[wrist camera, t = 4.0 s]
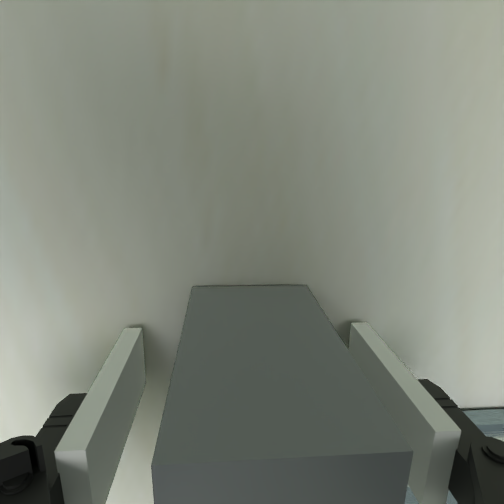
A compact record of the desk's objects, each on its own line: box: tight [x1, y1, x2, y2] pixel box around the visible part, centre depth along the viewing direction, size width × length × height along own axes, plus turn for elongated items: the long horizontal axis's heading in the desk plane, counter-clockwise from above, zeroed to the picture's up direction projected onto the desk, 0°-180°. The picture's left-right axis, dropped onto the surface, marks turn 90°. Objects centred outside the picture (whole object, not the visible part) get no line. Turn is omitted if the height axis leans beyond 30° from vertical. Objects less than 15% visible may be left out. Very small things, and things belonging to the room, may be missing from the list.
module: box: [151, 285, 414, 504], centre depth 12 cm, size 6×5×9 cm
